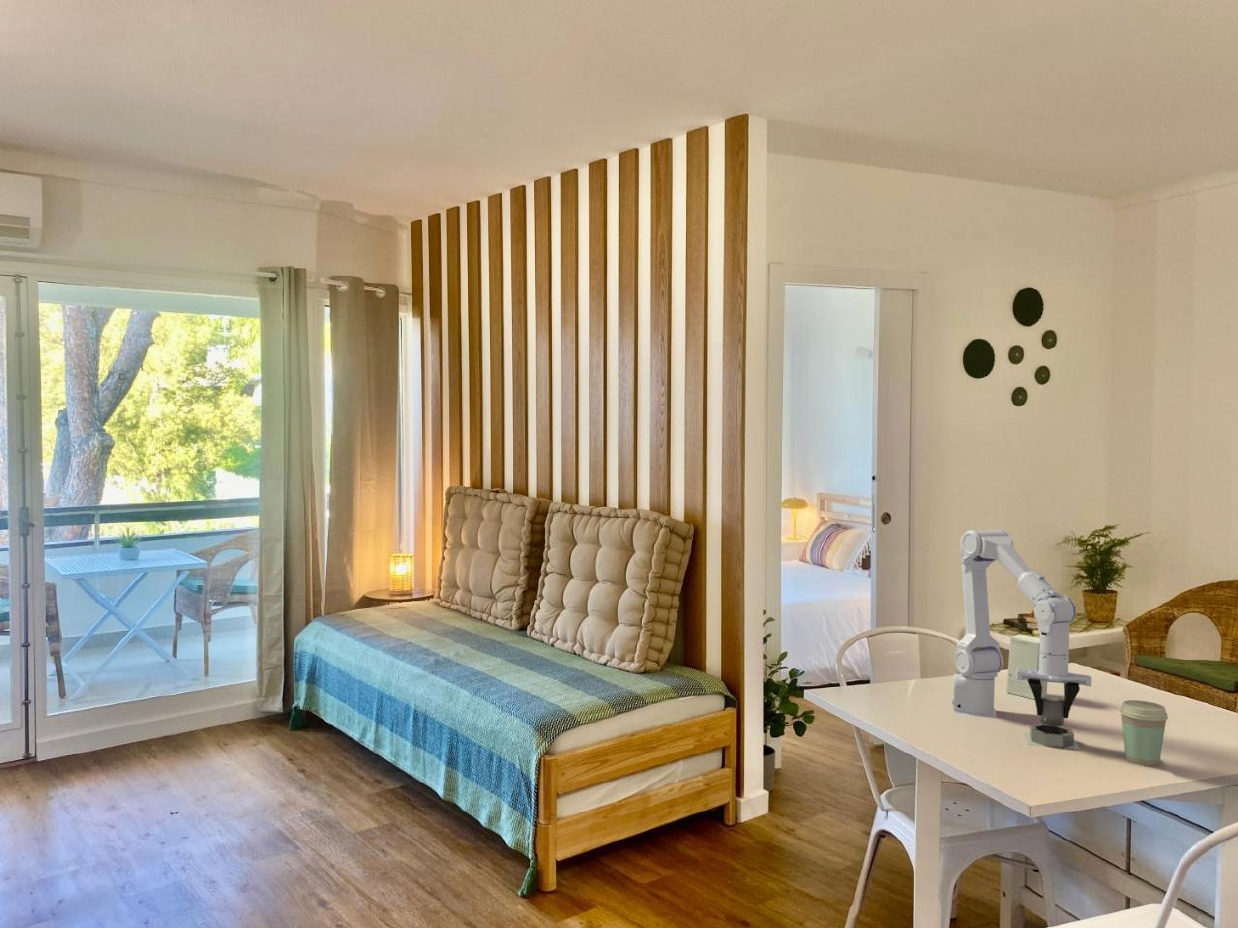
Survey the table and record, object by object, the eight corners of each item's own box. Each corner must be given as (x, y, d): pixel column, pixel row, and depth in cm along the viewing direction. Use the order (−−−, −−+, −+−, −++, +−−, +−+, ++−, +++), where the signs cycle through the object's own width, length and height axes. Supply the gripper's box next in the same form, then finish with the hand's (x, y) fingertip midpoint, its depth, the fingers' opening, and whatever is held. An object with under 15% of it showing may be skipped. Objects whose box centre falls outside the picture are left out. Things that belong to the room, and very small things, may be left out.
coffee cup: (1176, 770, 184) (1178, 711, 184) (1135, 771, 184) (1137, 711, 183) (1148, 756, 193) (1150, 698, 192) (1109, 756, 192) (1110, 699, 192)
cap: (1041, 724, 198) (1042, 700, 198) (1039, 718, 203) (1039, 694, 202) (1065, 726, 197) (1066, 702, 197) (1062, 720, 201) (1062, 696, 201)
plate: (1028, 746, 198) (1028, 743, 198) (1024, 735, 205) (1024, 732, 205) (1079, 752, 194) (1079, 749, 194) (1074, 740, 202) (1074, 738, 202)
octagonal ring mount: (1032, 744, 197) (1033, 732, 197) (1028, 733, 205) (1029, 721, 205) (1075, 749, 195) (1075, 737, 195) (1069, 737, 202) (1070, 726, 202)
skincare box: (1005, 693, 241) (1007, 636, 240) (1018, 689, 244) (1019, 633, 244) (1037, 700, 234) (1038, 641, 234) (1049, 696, 238) (1050, 639, 237)
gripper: (1018, 653, 198) (1017, 717, 198) (1094, 659, 193) (1092, 724, 194) (1016, 647, 205) (1014, 708, 205) (1089, 652, 200) (1087, 715, 200)
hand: (1052, 715), depth 200 cm, fingers closed on cap, 5 cm apart
